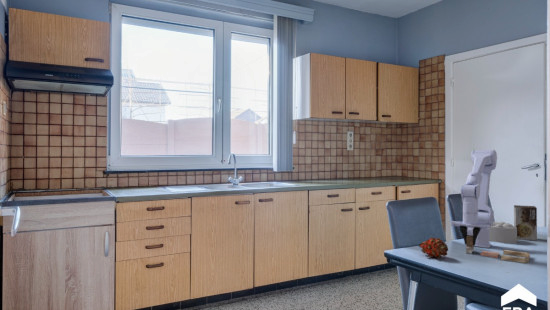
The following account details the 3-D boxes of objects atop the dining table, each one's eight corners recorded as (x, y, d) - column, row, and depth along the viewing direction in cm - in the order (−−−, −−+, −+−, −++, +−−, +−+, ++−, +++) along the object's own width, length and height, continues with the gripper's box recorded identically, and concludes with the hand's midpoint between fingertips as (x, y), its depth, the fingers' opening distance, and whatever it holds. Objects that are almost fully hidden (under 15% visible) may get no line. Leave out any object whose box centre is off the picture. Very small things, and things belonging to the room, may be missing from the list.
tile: (480, 256, 162) (480, 253, 162) (482, 253, 167) (482, 250, 167) (497, 258, 159) (497, 255, 159) (498, 255, 164) (498, 252, 164)
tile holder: (500, 259, 156) (500, 255, 156) (503, 253, 165) (503, 249, 165) (528, 263, 151) (528, 259, 151) (529, 257, 160) (529, 253, 160)
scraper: (465, 253, 166) (465, 236, 166) (468, 250, 170) (468, 234, 170) (471, 254, 164) (472, 237, 164) (474, 251, 169) (474, 234, 169)
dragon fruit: (449, 264, 154) (420, 262, 163) (455, 248, 159) (427, 247, 168) (441, 249, 151) (412, 247, 160) (447, 233, 157) (419, 233, 165)
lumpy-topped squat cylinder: (488, 237, 198) (489, 219, 198) (518, 241, 189) (519, 223, 189) (483, 240, 190) (483, 222, 190) (514, 244, 181) (515, 226, 181)
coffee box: (534, 238, 195) (535, 205, 195) (537, 241, 189) (537, 207, 189) (513, 236, 199) (513, 204, 199) (515, 239, 193) (515, 206, 193)
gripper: (450, 212, 168) (449, 244, 168) (488, 215, 160) (488, 248, 160) (453, 210, 174) (453, 240, 174) (490, 213, 166) (490, 245, 166)
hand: (469, 244), depth 167 cm, fingers closed on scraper, 2 cm apart
